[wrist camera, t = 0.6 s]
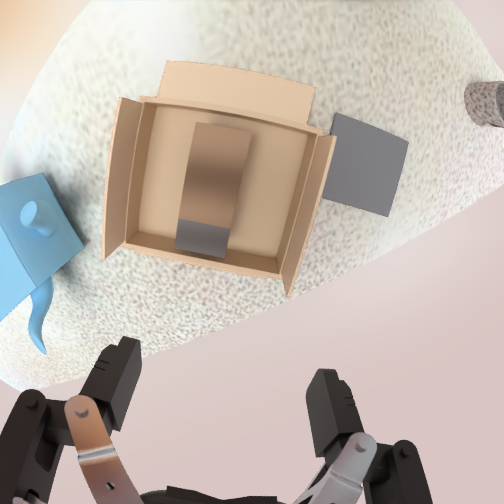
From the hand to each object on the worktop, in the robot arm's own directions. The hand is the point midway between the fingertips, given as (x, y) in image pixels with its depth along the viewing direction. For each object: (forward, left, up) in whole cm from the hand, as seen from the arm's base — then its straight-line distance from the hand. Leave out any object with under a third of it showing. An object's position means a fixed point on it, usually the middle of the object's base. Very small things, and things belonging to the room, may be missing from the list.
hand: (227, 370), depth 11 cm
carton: (-6, -3, -23) cm, 24 cm away
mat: (-10, +13, -23) cm, 28 cm away
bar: (-4, -3, -22) cm, 23 cm away
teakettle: (+6, -27, -23) cm, 36 cm away
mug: (-28, +31, -23) cm, 47 cm away
